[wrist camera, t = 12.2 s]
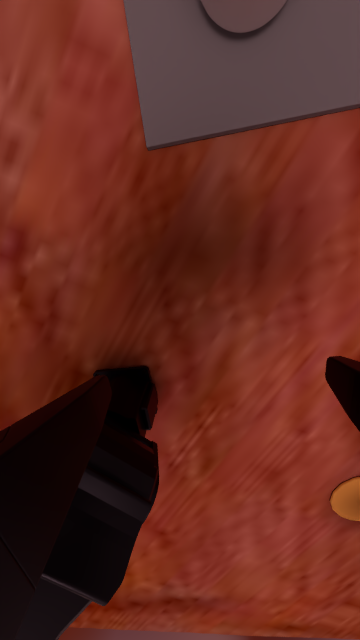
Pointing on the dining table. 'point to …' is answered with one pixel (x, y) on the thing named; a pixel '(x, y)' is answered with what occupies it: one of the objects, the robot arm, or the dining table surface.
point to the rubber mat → (240, 67)
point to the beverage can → (242, 13)
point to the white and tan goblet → (347, 499)
